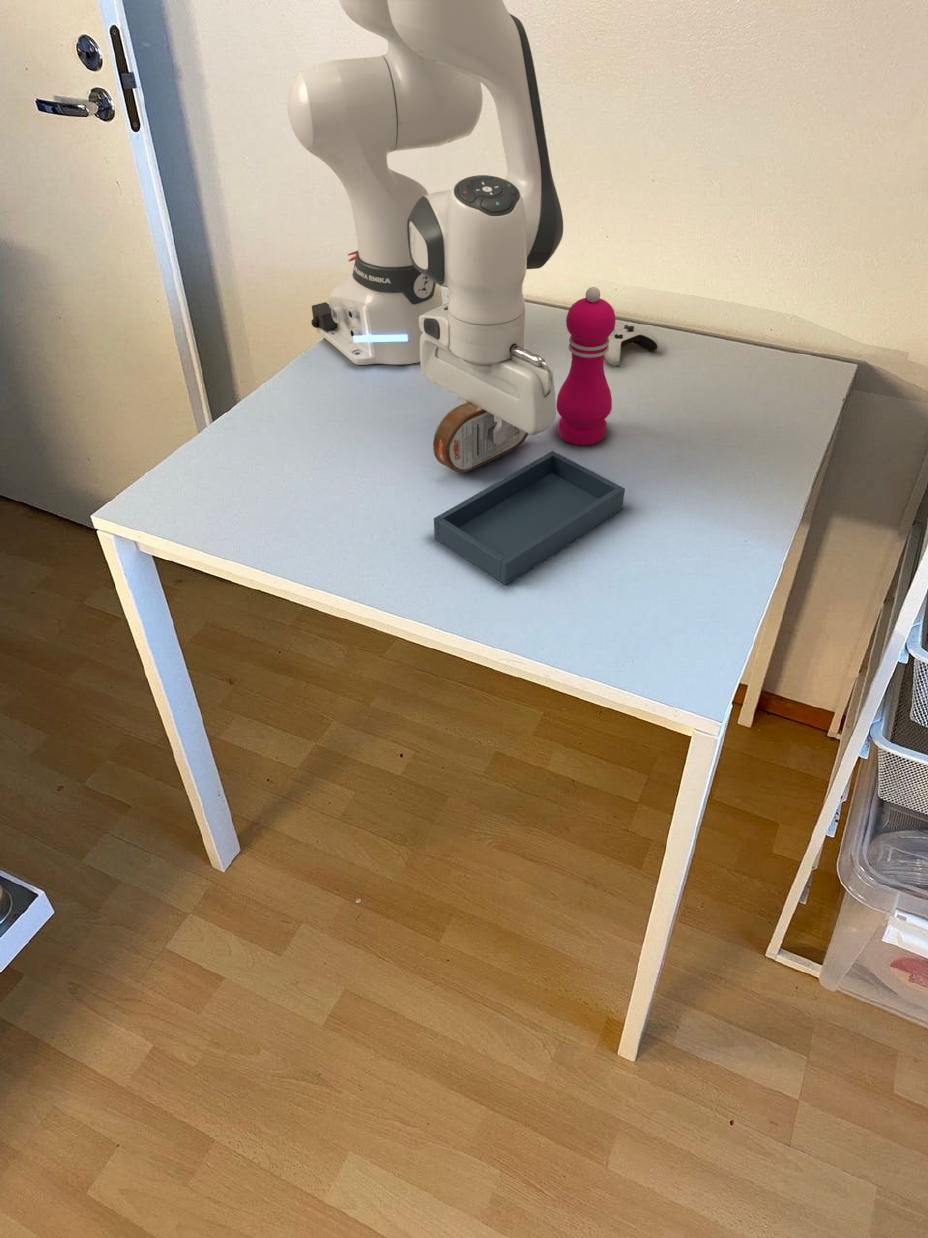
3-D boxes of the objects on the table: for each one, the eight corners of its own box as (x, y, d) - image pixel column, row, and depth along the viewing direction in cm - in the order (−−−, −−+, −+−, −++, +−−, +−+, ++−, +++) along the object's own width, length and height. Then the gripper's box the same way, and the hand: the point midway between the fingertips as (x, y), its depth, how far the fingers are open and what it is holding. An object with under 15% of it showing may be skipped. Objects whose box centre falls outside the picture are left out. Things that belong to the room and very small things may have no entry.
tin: (522, 433, 122) (521, 374, 116) (538, 442, 120) (538, 382, 114) (433, 475, 115) (428, 415, 109) (449, 485, 113) (444, 424, 108)
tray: (434, 538, 106) (433, 518, 104) (551, 470, 116) (552, 450, 114) (505, 585, 100) (505, 564, 98) (622, 508, 110) (625, 488, 108)
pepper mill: (546, 439, 121) (553, 293, 108) (567, 414, 126) (577, 271, 112) (596, 452, 119) (611, 304, 105) (616, 426, 123) (632, 281, 110)
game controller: (617, 364, 134) (599, 327, 134) (597, 378, 139) (580, 342, 139) (663, 345, 138) (646, 309, 138) (642, 359, 143) (626, 324, 143)
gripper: (571, 352, 102) (563, 457, 111) (447, 296, 113) (450, 396, 122) (533, 372, 99) (528, 478, 108) (409, 312, 110) (414, 414, 119)
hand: (485, 434), depth 115 cm, fingers closed on tin, 2 cm apart
